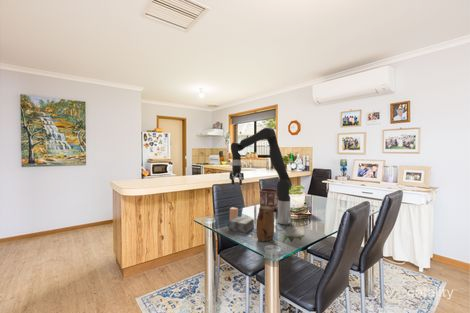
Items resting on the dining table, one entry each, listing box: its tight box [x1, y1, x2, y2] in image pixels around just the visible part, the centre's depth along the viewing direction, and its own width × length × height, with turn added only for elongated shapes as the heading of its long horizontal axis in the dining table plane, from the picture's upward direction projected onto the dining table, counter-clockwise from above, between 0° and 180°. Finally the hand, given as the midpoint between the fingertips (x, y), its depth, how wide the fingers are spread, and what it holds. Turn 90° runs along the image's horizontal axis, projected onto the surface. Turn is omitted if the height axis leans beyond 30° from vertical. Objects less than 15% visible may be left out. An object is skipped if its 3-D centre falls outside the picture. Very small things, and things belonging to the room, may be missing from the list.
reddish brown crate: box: [259, 188, 278, 211], centre depth 211 cm, size 18×18×18 cm
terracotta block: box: [229, 206, 239, 221], centre depth 175 cm, size 5×4×10 cm
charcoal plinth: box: [228, 215, 255, 234], centre depth 160 cm, size 13×13×6 cm
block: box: [255, 206, 275, 242], centre depth 141 cm, size 11×8×20 cm
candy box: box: [304, 194, 313, 215], centre depth 199 cm, size 14×6×16 cm, turn 84°
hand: (236, 184), depth 191 cm, fingers open, 8 cm apart
